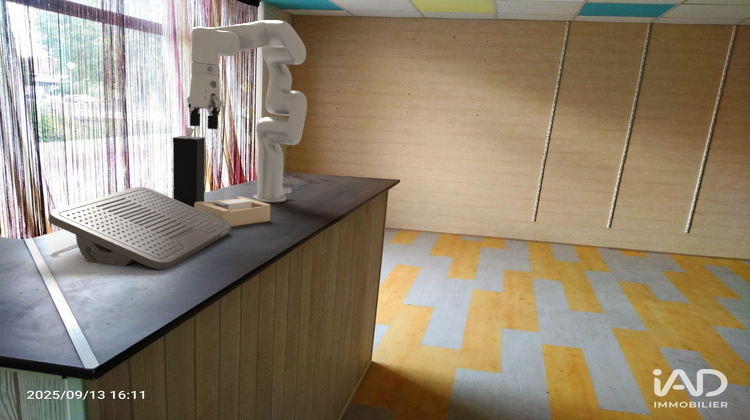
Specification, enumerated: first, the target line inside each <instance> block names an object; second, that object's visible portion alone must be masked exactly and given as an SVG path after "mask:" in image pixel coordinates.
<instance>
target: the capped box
mask: <svg viewBox="0 0 750 420" xmlns="http://www.w3.org/2000/svg"><path fill="white" fill-rule="evenodd" d="M232 199H233V200H226V199H224V200H225V201H218V200H216V201H217V202H213V205H215V206H218V207H221V208H225V209H228V210H230V211H234V210H241V209H248V208H252V201H250V200H246V199H243V198H241V199H234V198H232Z"/></svg>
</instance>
